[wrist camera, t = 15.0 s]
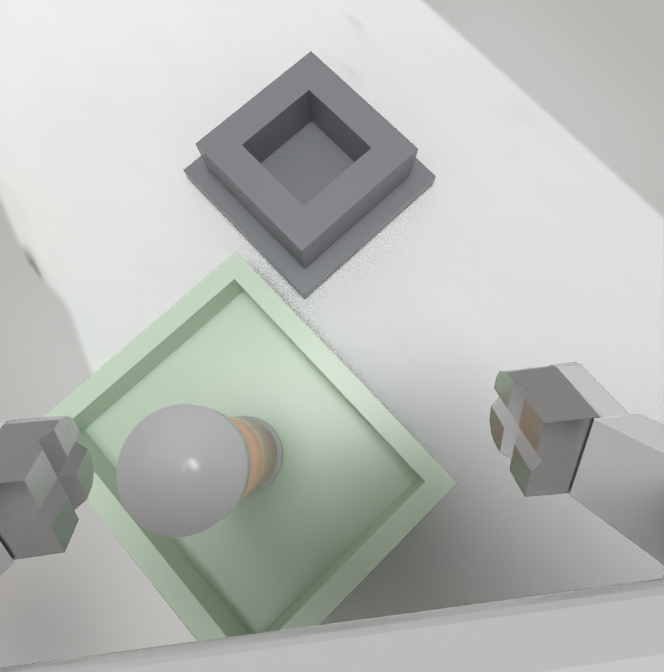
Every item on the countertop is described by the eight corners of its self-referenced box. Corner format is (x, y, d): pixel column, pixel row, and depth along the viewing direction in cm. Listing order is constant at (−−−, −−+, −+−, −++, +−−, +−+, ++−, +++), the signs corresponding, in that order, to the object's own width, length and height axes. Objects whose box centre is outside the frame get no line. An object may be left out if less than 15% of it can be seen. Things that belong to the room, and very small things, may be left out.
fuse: (298, 456, 28) (271, 472, 16) (242, 509, 27) (170, 566, 15) (249, 401, 28) (189, 378, 17) (193, 452, 28) (90, 465, 16)
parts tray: (442, 477, 28) (457, 482, 25) (256, 667, 26) (244, 701, 23) (247, 271, 31) (236, 251, 28) (65, 429, 29) (29, 428, 26)
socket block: (432, 184, 32) (445, 149, 29) (304, 298, 31) (300, 278, 27) (314, 75, 34) (312, 28, 30) (188, 177, 33) (167, 143, 29)
